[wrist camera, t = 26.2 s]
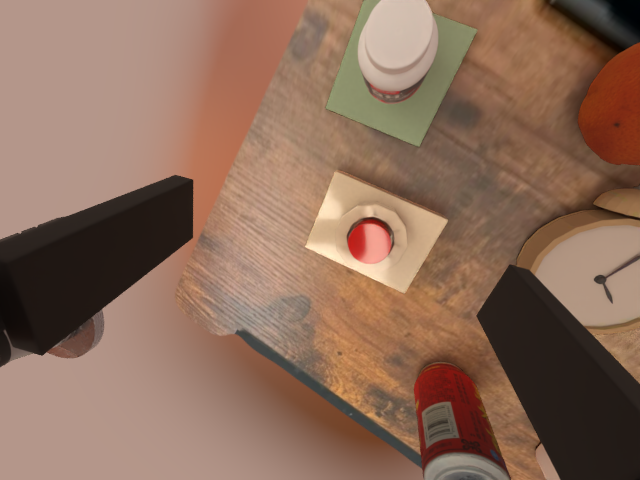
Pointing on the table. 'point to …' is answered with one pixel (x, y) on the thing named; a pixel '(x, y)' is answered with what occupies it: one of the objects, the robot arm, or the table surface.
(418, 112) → the mat
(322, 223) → the control block
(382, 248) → the button
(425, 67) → the pill bottle
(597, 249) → the alarm clock
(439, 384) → the soda can
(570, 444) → the robot arm
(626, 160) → the fruit
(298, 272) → the table surface
